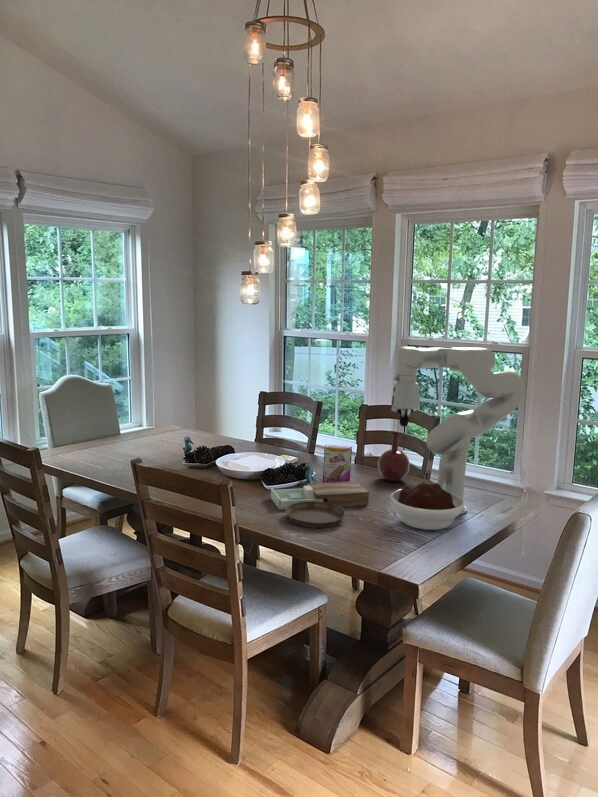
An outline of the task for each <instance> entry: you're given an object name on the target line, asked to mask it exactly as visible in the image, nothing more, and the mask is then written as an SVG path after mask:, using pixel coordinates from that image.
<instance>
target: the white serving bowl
mask: <svg viewBox="0 0 598 797" xmlns="http://www.w3.org/2000/svg"><path fill="white" fill-rule="evenodd" d="M389 499H390V500H389V501H390V503H391V505H392V508H393V509H394V510H395V511H396V513H397V514H398V517H399V520H400V522H402V523H404V524H405V525H407V526H409V527H412V528H415V529H421V530H426V531H437V530H443V529H446V528H449V527H451V525H452V524H453V523H454V521H455V519H456V518H457V517H458V516H460V515H461V514H460V513H461V512H462V510H463V509H464V505H465V501H464V498H463V499H462V498H461V497H459V496H458V495H456V494H453V493H451V492H447V491H445V490H443V489H442V488H441V486H440V485H439V484H438V482H435V483H434V482H432V483H426V482H420V483H418V484H417V485H414V484H410V483H409V484H405V485H403V487H402V488H400V489H397V490H395V491H393V492H392V493H391V495H390V498H389ZM465 506H466V505H465Z"/></svg>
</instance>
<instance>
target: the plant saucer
mask: <svg viewBox="0 0 598 797" xmlns="http://www.w3.org/2000/svg"><path fill="white" fill-rule="evenodd" d="M285 513H286V515H287V516H288V518H289V519H290V520H291V522H293V523H295V524H296V525H298V524H299V525H298V526H301V527H305V526H306V528H311V527H312V528H311V529H323V528H324V529H325V528H330V527H333V526H336V525H338V524H339V523H340V522H341V521H343V519H344V518H345V516H346V511H345V509H343V508H342V507H338V506H336V505H333V504H329V503H324V502H299V503H295V504H292V505H290V506H288V507H287V508H286V510H285Z"/></svg>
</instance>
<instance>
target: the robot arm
mask: <svg viewBox="0 0 598 797" xmlns="http://www.w3.org/2000/svg"><path fill="white" fill-rule="evenodd" d="M397 351H398V353H397V365H396V366H397V367H396V374H395V375H394V376H393V380H394V381H395V382H394V384H393V388H392V394H391V395H392V396H391V409H390V410H391V411H392V412H395V413H397V414H398V415H399V426H401V427H408V424H409V419H410V418H409V417H411V414H412V413H413V412H417V411H418V410H419V407H420V404H421V403H420V387H419V386H420V385H419V383H418V382H417V375H418V370H421V369H422V370H423V369H433V368H435V369H436V368H437V369H438V368H441V369H442V368H446V369H449V370H450V371H451V372H452V371H453V372H460V373H461V374H462V375H463V377H465V379H466V380H467V382H469V383H470V385H472V387H473V388H474V389H475V391H476V392H477V393H478V394H480V396H483V397H484V398H486V400H484V401H482V403H481V404H480V403H479V405H477V406H476V407H475V408H473V409H469V410H465V411H460V412H456V413H453V414H452V415H450V416H448V417H446V418H445V419H444V420H443V421H442V422H440V423H439V424H437V425H436V426H435V427H434V428H433V429H431V430H430V432H429V433H428V435H427V437H426V447H427V449H428V450H429V451H430V452H431V453H433V454H434V455H437V456H439V455H440V458H439V461H438V462H439V463H438V474H437V483H438V484H439V485H440V486H441V488H442V489H443V490H445V491H447V492H451V493H453V494H456V495H458V496H459V497H461V498H462V499H463V500H464V495H465V494H464V493H465V481H466V470H467V469H466V468H467V459H468V453H469V450H470V447H471V442H472V441H471V440H472V439H474V438H478V437H479V436H482V435H483V434H484V433H485V432H487V431H488V430H490V429H491V428H493V427H494V426H495V425H497V424H498V423H499V422H500V421H502V420H503V419H504V418H506V417H507V416H509V415H510V414H511V413H513V411H514V410H516V409H517V408H518V407H519V405H520V403H521V402H522V400H523V396H524V392H525V391H524V389H525V388H524V387H525V386H524V385H525V384H524V381H523V379H522V377H521V376H520V375H519V374H518V373H516V372H512V371H507V370H504V371H496V372H492V371H491V370H492V369H493V368H494V367H495V365H496V362H497V360H496V359H497V358H496V355H495V354H494V352H493V351H492V350H491V349H489V348H485V347H455V346H454V347H426V348H417V347H413V346H401V347H399V348H398V350H397ZM467 510H468V509H467V506H466V505H464V509H463V510H462V512H461V513H460V514H459V515H462V514H466V513H467Z"/></svg>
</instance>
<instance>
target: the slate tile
mask: <svg viewBox="0 0 598 797" xmlns="http://www.w3.org/2000/svg"><path fill="white" fill-rule="evenodd" d="M303 499H304V496H303V495H302V494H301V493H292V494H288V500H303Z"/></svg>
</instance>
